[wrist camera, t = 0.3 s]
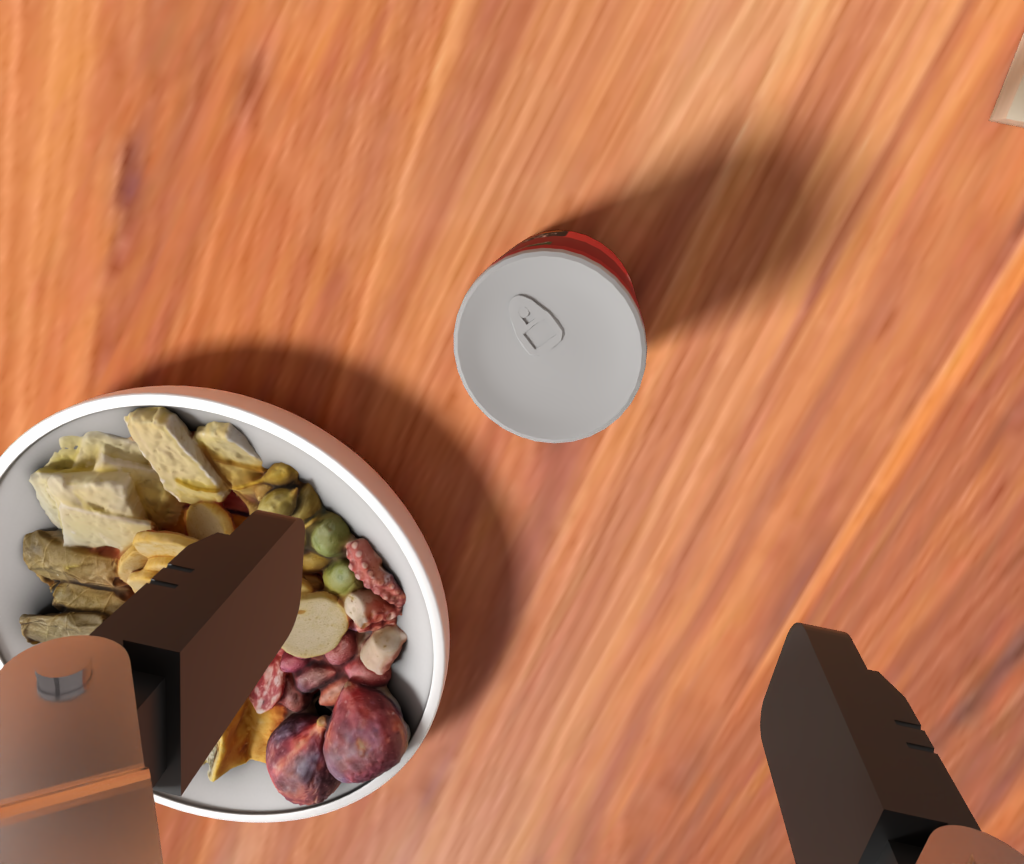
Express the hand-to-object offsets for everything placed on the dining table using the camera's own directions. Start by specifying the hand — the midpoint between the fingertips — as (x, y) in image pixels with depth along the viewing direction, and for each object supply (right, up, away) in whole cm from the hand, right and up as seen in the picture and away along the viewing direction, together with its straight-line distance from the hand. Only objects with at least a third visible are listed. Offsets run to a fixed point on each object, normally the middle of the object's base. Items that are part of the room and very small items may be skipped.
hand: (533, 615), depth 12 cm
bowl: (-19, -7, +36) cm, 41 cm away
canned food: (+2, +10, +27) cm, 29 cm away
